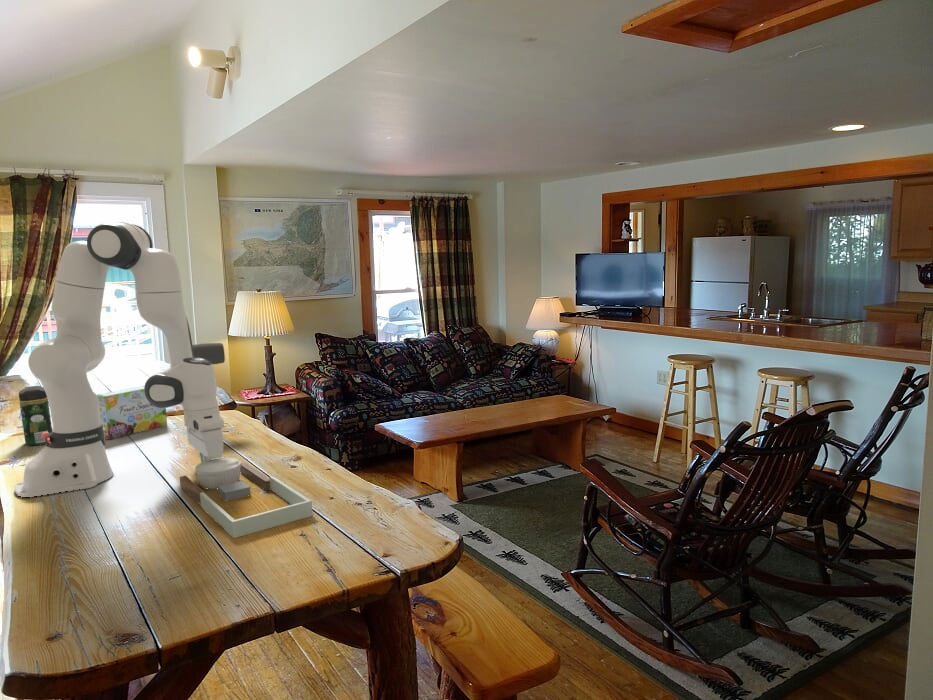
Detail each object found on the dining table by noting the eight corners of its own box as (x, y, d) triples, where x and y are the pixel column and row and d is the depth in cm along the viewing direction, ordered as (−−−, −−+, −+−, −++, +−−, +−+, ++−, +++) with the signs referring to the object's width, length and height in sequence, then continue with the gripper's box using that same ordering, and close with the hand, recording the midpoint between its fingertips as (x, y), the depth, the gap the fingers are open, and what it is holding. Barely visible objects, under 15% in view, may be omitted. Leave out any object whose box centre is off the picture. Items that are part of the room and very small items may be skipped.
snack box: (109, 440, 217) (104, 395, 215) (100, 438, 220) (95, 394, 218) (168, 425, 235) (164, 383, 232) (159, 423, 237) (154, 382, 235)
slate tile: (225, 502, 159) (225, 492, 158) (218, 495, 163) (217, 486, 163) (250, 496, 162) (249, 486, 162) (242, 490, 167) (241, 480, 166)
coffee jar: (24, 441, 219) (17, 386, 216) (53, 437, 223) (46, 383, 221) (24, 447, 211) (17, 390, 208) (54, 443, 215) (47, 387, 213)
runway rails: (202, 506, 155) (201, 496, 155) (180, 486, 170) (179, 476, 170) (272, 489, 165) (271, 480, 165) (245, 471, 180) (245, 462, 180)
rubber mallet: (192, 436, 219) (184, 346, 215) (190, 430, 226) (182, 343, 221) (231, 430, 224) (224, 343, 220) (229, 425, 231) (221, 340, 227)
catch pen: (233, 538, 137) (232, 522, 137) (201, 507, 155) (199, 492, 154) (312, 515, 148) (311, 500, 147) (273, 489, 166) (272, 475, 165)
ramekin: (233, 491, 166) (231, 470, 165) (189, 492, 166) (187, 471, 165) (248, 476, 177) (247, 457, 176) (207, 477, 177) (205, 458, 176)
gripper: (179, 413, 184) (183, 460, 186) (200, 426, 168) (205, 478, 170) (202, 409, 188) (206, 456, 190) (225, 422, 172) (230, 473, 174)
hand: (206, 467), depth 180 cm, fingers closed
